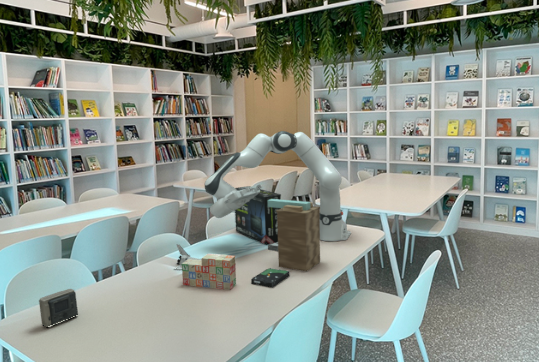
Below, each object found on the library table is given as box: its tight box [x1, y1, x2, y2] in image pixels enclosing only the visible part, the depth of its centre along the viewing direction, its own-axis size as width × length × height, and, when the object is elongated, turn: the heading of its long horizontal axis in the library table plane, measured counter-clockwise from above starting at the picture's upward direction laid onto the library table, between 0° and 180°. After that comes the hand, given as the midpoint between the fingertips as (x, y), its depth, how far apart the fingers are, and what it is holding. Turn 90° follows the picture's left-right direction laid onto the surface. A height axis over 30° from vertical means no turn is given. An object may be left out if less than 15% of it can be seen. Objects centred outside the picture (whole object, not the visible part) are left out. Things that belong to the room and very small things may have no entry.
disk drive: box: [250, 267, 291, 289], centre depth 181 cm, size 10×3×15 cm
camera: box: [38, 288, 79, 328], centre depth 148 cm, size 11×6×10 cm, turn 140°
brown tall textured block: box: [276, 201, 321, 272], centre depth 196 cm, size 15×15×28 cm
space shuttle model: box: [175, 244, 201, 271], centre depth 200 cm, size 16×25×10 cm, turn 67°
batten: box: [268, 199, 311, 210], centre depth 197 cm, size 4×20×3 cm, turn 58°
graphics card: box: [267, 242, 278, 252], centre depth 228 cm, size 10×3×25 cm
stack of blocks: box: [181, 253, 237, 291], centre depth 177 cm, size 21×6×12 cm, turn 72°
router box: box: [234, 185, 282, 246], centre depth 245 cm, size 36×11×27 cm, turn 32°
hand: (255, 187), depth 208 cm, fingers open, 8 cm apart
